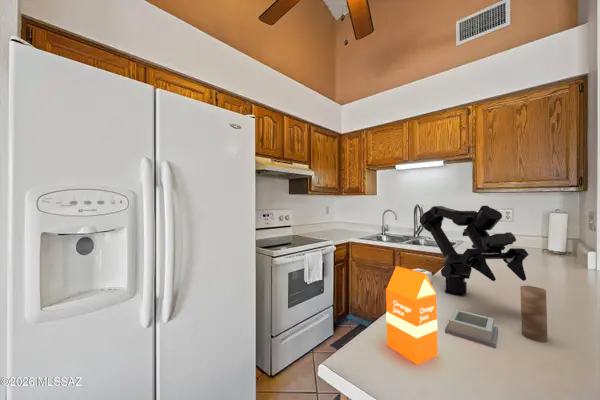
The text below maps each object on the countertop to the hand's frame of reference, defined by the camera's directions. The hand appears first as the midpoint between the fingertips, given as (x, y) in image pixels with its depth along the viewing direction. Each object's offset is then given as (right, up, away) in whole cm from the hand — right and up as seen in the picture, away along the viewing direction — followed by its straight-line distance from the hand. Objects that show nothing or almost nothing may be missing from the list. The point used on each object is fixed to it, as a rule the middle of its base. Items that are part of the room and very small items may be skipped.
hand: (509, 280), depth 72 cm
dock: (-15, -13, -5) cm, 20 cm away
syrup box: (-25, -14, +6) cm, 29 cm away
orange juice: (-36, -13, -13) cm, 40 cm away
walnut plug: (0, -13, -7) cm, 15 cm away
